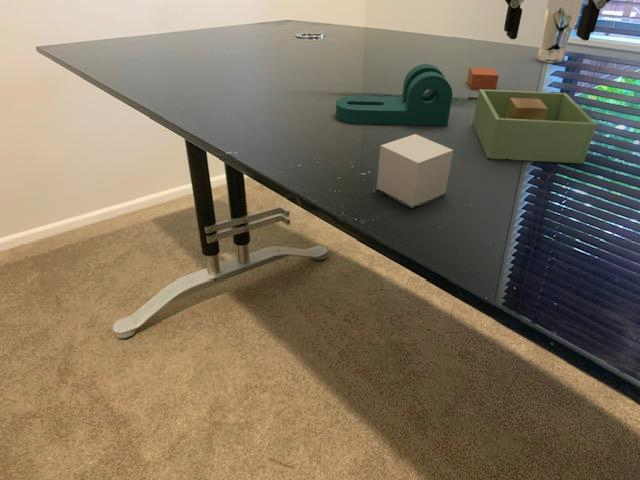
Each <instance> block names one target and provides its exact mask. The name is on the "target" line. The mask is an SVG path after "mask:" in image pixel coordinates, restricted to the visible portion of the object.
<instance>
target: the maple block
mask: <svg viewBox="0 0 640 480" xmlns="http://www.w3.org/2000/svg"><path fill="white" fill-rule="evenodd" d="M547 111H548V108H547V107H546V106H545V105H544V103H543V102H542V101H541V100H540V99H531V98H510V100H509V105H508V109H507V113H506V117H505V118H508V119H528V120H545V118H546V115H547Z"/></svg>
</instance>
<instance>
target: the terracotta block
mask: <svg viewBox="0 0 640 480" xmlns="http://www.w3.org/2000/svg"><path fill="white" fill-rule="evenodd" d="M498 81H499V73H498V72H497V71H496V69H495V68H493V67H492V68H491V67H469V69H468V74H467V80H466V83H467V85H468V88H469V90H480V89H483V90H484V89H485V90H497V85H498ZM467 99H469V100H478V97H473V96H472V97H471V96H468V97H467Z"/></svg>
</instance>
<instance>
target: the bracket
mask: <svg viewBox="0 0 640 480" xmlns="http://www.w3.org/2000/svg"><path fill="white" fill-rule="evenodd" d="M452 101H453V89H452V87H451V85H450V83H449V81H448V80H447V79H446V77H445V75H444V74H443V72H442V71H441V70H440V69H439V68H438V67H437V66H435V65H433V64H430V63H423V64H422V63H421V64H419V65H417V66H414V67H413V68H411V69H410V70H409V71H408V72H407V74H406V75H405V77H404V81H403V85H402V95H401V96H398V97H397V96H358V95H357V96H355V95H354V96H345V97H341V98H338V99H337V100H336V102H335V103H336V104H335V118H336V119H337V120H339V121H341V122H344V123H347V124H356V125H358V124H359V125H396V126H397V125H398V126H399V125H400V126H401V125H403V126H404V125H405V126H442V127H443V126H445V127H446V126H449V118H450V113H451V107H452Z"/></svg>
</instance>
